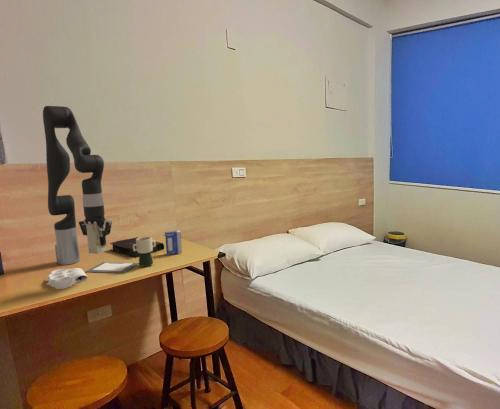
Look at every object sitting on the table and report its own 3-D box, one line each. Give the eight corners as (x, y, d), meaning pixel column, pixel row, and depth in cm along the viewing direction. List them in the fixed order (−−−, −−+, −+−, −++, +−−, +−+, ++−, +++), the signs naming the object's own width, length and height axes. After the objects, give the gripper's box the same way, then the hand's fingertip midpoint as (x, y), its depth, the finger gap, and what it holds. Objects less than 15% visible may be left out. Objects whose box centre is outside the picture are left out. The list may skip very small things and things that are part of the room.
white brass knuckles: (89, 283, 133) (47, 293, 124) (81, 272, 147) (43, 280, 138) (88, 275, 132) (46, 284, 124) (80, 264, 147) (42, 272, 138)
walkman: (166, 255, 167) (165, 232, 165) (166, 253, 170) (165, 231, 168) (182, 253, 169) (180, 231, 167) (182, 252, 172) (180, 230, 170)
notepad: (85, 272, 145) (85, 270, 145) (103, 262, 158) (103, 261, 158) (124, 273, 142) (124, 271, 142) (139, 263, 155) (139, 262, 154)
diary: (139, 244, 193) (138, 236, 193) (164, 251, 178) (164, 242, 177) (108, 251, 179) (108, 242, 178) (133, 259, 163) (133, 249, 163)
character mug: (154, 261, 158) (151, 235, 156) (160, 264, 153) (158, 237, 151) (131, 266, 151) (129, 239, 149) (137, 270, 146) (135, 241, 144)
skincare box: (97, 254, 131) (94, 224, 129) (88, 253, 132) (85, 224, 130) (107, 249, 137) (105, 221, 136) (98, 249, 138) (95, 221, 136)
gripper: (71, 205, 129) (76, 247, 132) (103, 206, 127) (107, 248, 129) (83, 203, 137) (88, 242, 139) (114, 203, 134) (118, 243, 137)
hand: (97, 245), depth 134 cm, fingers closed on skincare box, 4 cm apart
